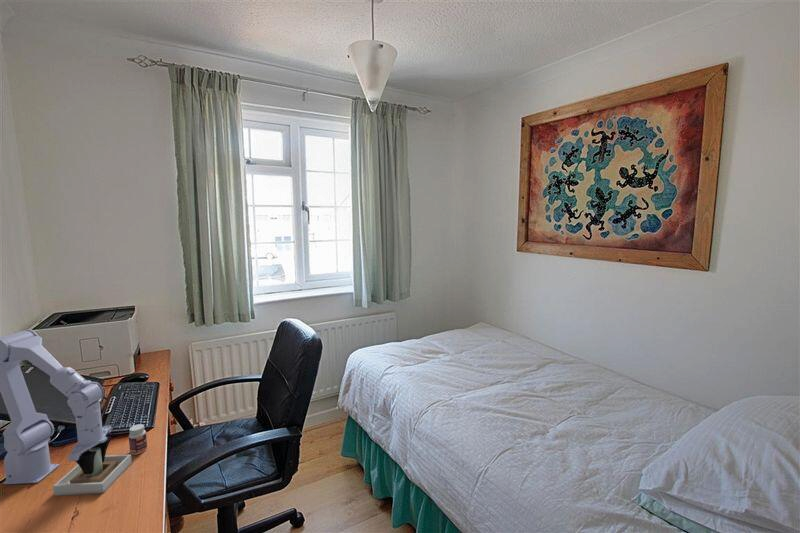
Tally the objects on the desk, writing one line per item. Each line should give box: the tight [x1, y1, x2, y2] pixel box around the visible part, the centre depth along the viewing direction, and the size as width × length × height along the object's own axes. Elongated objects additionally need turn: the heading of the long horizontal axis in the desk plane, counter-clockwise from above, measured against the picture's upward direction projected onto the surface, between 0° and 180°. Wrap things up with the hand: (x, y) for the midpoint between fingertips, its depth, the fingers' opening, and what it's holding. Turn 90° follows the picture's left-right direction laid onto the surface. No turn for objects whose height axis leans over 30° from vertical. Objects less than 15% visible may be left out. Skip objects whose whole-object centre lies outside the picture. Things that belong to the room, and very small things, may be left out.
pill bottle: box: [128, 423, 148, 456], centre depth 125 cm, size 5×5×8 cm
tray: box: [52, 453, 133, 497], centre depth 113 cm, size 13×13×3 cm
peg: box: [86, 447, 103, 477], centre depth 112 cm, size 4×4×8 cm
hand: (94, 468), depth 112 cm, fingers open, 4 cm apart
